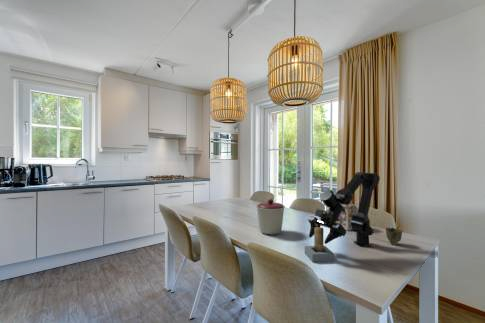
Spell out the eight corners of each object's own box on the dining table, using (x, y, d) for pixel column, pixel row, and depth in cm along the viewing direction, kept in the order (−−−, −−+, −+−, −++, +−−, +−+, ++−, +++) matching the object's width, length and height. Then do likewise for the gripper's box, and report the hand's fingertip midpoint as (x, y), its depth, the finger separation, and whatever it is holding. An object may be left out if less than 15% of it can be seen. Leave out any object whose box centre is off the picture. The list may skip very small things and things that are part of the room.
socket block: (304, 253, 112) (304, 246, 112) (324, 252, 113) (324, 245, 113) (312, 262, 102) (312, 254, 102) (334, 261, 103) (334, 253, 103)
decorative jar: (358, 228, 153) (358, 201, 153) (348, 231, 147) (348, 203, 147) (341, 224, 163) (341, 198, 163) (331, 226, 157) (331, 200, 157)
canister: (264, 238, 133) (264, 202, 133) (251, 230, 150) (251, 197, 150) (290, 234, 140) (290, 200, 140) (275, 226, 157) (275, 195, 157)
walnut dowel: (314, 253, 110) (314, 226, 110) (323, 255, 109) (323, 227, 109) (314, 257, 106) (314, 229, 106) (323, 258, 105) (323, 229, 105)
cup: (382, 242, 126) (382, 228, 126) (391, 241, 129) (391, 226, 129) (396, 247, 119) (396, 232, 119) (405, 245, 122) (405, 230, 122)
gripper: (310, 200, 117) (293, 224, 112) (342, 206, 101) (324, 235, 96) (321, 213, 121) (305, 238, 116) (353, 221, 105) (337, 250, 100)
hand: (317, 240), depth 107 cm, fingers open, 9 cm apart
